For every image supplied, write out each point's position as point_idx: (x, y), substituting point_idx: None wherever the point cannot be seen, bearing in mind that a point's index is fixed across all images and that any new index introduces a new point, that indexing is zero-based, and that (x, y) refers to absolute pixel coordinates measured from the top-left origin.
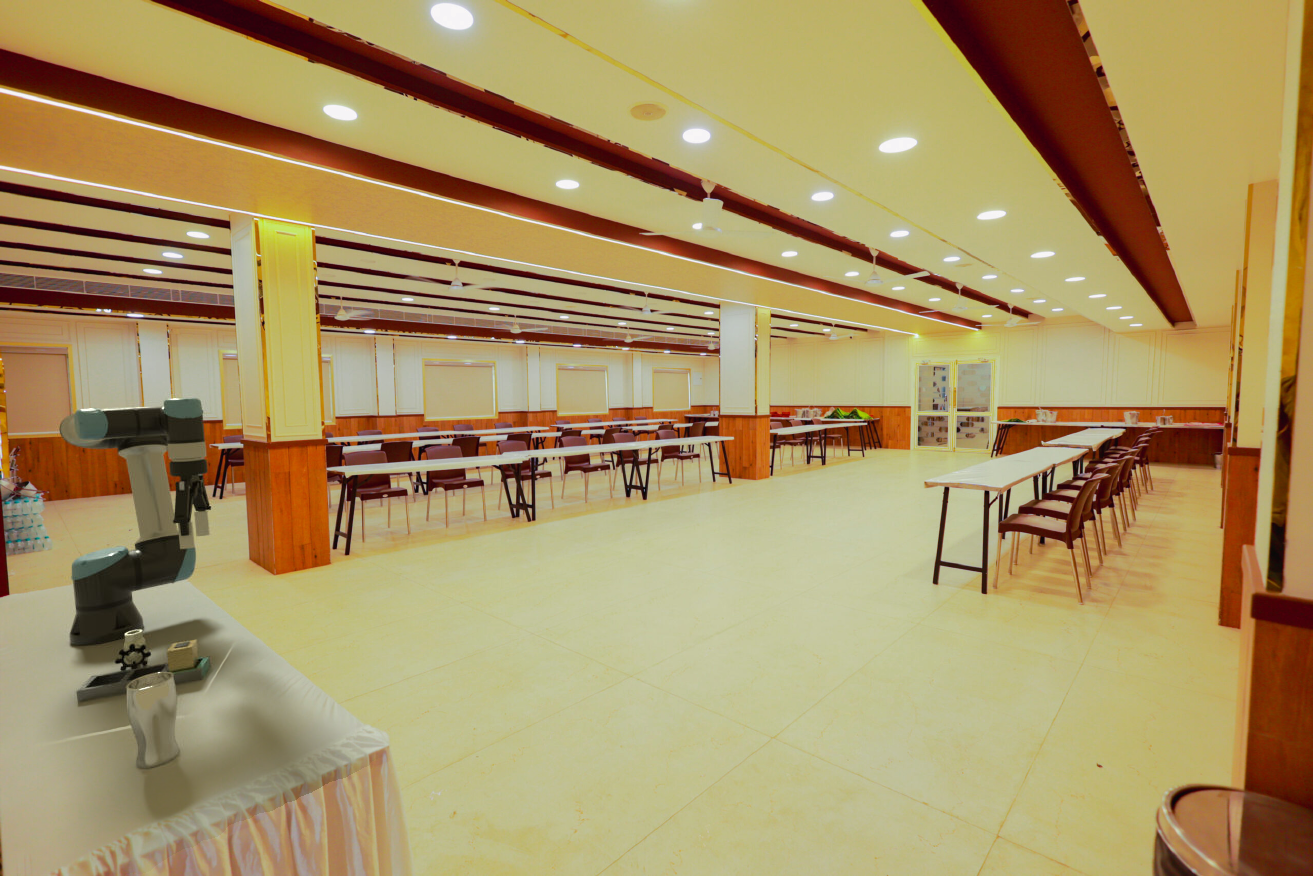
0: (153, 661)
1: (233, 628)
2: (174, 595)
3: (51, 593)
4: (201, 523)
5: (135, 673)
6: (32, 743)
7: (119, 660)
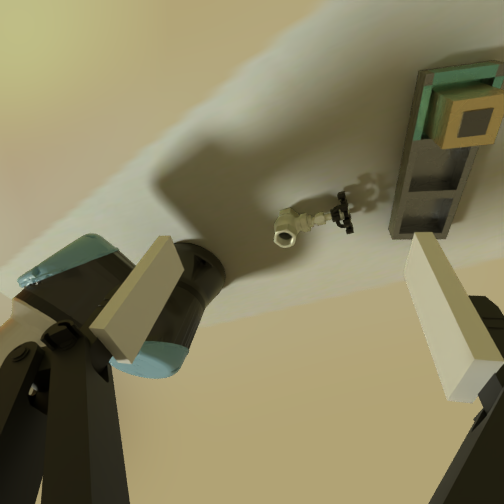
0: (319, 188)
1: (205, 105)
2: (63, 244)
3: None
4: (153, 294)
5: (409, 189)
6: None
7: (352, 225)
